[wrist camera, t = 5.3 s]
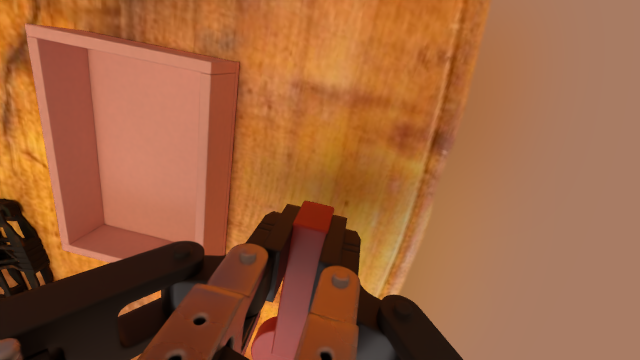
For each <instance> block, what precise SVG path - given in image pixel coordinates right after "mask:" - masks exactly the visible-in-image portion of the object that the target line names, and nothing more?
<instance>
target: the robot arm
mask: <svg viewBox="0 0 640 360" xmlns="http://www.w3.org/2000/svg"><path fill="white" fill-rule="evenodd" d="M300 208H301V207H299V206H295V205H291V204H287V205H286V207H285V208H284V210H283V211H282V213H278V212H274V211H273V212H271V213H269V214H267V215H265V217H264V218H263V219H262V221H261V223H260V224H259V225H258V226H257V228H256V229H255V231H254V232H253V233H252V235H251V236H250V238H249V239H248V240H247V242H246V243H245V244H240V245H237V246H235V247H233V248H232V249H231V250H230V251H229V252H228V254H227V255H222V256H216V255H205V250H204V248H203V246H202V245H200V244H199V243H197V242H193V241H177V242H173V243H170V244H167V245H164V246H161V247H158V248H155V249H152V250H149V251H146V252H143V253H140V254H137V255H134V256H131V257H128V258H125V259H122V260H119V261H116V262H112V263H109V264H106V265H103V266H100V267H97V268H94V269H91V270H88V271H85V272H82V273H79V274H76V275H73V276H70V277H67V278H64V279H61V280H58V281H55V282H51V283H48V284H45V285H42V286H39V287H36V288H33V289H30V290H27V291H24V292H21V293H18V294H15V295H12V296H9V297H6V298H3V299H0V360H131V359H132V358H134V357H136V356H138V355H140V354H141V353H142V354H141V355H140V357H139V358H138V359H137V360H249V359H248V358H246V357H244V354H245V352H246V349H247V347H248V344H249V342H250V339H251V337H252V334H253V332H254V329H255V327H256V325H257V322H258V320H259V317H260V312H261V309H262V307H263V305H264V303H265V301H269V302H273V301H274V298H275V296H276V294H277V291H278V289H279V287H280V284H281V282H282V279H283V277H284V275H285V272H286V267H287V261H288V255H289V249H290V243H291V237H292V231H293V225H292V224H293V222H294V220H295V218H296V216H297V214H298V212H299V210H300ZM346 223H347V218H345V217H341V216H337V215H333V217H332V220H331V224H330V228H329V231H328V234H326V236H325V240H324V243H323V247H322V251H321V254H320V258H319V261H318V266H317V271H316V275H315V280H314V284H313V289H312V294H311V298H310V303H309V308H308V315H307V318H306V321H305V324H304V328H303V331H302V334H301V338H300V341H299V344H298V347H297V351H296V354H295V357H294V360H463V359H462V357H461V356H460V355H459V354H458V353H457V352H456V350H455V349H454V348H453V347H452V346H451V345H450V343H449V342H448V341H447V340H446V339H445V338H444V336H443V335H442V334H441V333H440V331H439V330H438V329H437V328H436V327H435V326H434V325H433V323H432V322H431V321H430V320H429V318H428V317H427V316H426V315H425V314H424V313H423V311H422V310H421V309H420V308H419V307H418V306H417V305H416V304H415V303H414V302H413V301H411V300H409V299H408V298H405V297H403V296H400V295H388V296H386V297H384V298H383V299H382V300H380V299H378V298H376V297H374V296H373V295H371V294H369V293H368V292H367V291H366V290H365V289H364V288H363V287H362V286H361V284H360V279H359V277H358V271H359V257H360V243H361V239H360V237H359V235H358V233H357V232H356V231H352V230H348V229H346ZM160 290H161V298H159V299H157V300H155V301H152V302H150V303H148V304H146V305H143V306H141V307H139V308H137V309H135V310H132V311H130V312H128V313H126V314H123V315H121V316H119V317H118V314H119V312H120V311H121V310H122V309H123V308H124V307H125V306H126V305H128V304H129V303H132V302H134V301H136V300H139V299H141V298H143V297H146V296H148V295H150V294H153V293H155V292H157V291H160Z"/></svg>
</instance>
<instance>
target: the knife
mask: <svg viewBox="0 0 640 360" xmlns="http://www.w3.org/2000/svg"><path fill="white" fill-rule="evenodd" d="M20 213H21V212H20V210H19V208H18V205H17V204H15V203H14V202H13V201H6V199H0V227H3V229H4V231H5V233H6V235H7V237H8V238H2V237H1V235H0V287H1V288H2V289H3V290H4V292H5V293H4V294H0V299H3V298H6V297H9V296H12V295H15V294H18V293H21V292H24V291H27V288H26V286H25V284H24V282H23V280H22V278H21V276H20V274H19V272H18V270H20V271H22V272H24V273H25V275H26V277H27V279H28V281H29V284H30V286H31V288H32V289H33V288H36V287H39V286H40V283H39V280H38V278H37V276H36V274H35V273H37V272H39V271H40V273H41V275H42V277H43V279H44V281H45V284H48V283H51V282H52V275H51V272H50V270H49V268H48V263H50V261H49V260H47V258H48V257H47V255H45V250H44V249H42V247H43V245H42V244H40V242H41V241H40V239H38V237H37V235H36V233H35V230H34V229H33V228H32V227H30V225H29V224H28V223H27V221H26V220H25V219H24V218H23V217H22V216H21V214H20ZM7 221H17V222H18V224H19V226H20V229H21V231H22V233H23V235H24V237H25V238H21V236H20V235H18V234H17V233H16V231H15V230H14V229H13V227H12V226H11V225H10V224H9V223H7ZM4 242H10V244H11V245H7V244H6V243H4ZM12 250H14V252H13V251H12ZM11 257H13V258H11ZM18 261H19V262H18ZM2 269H7V270H8V272H9V274H10V276H11V277H12V278H13V279H14V280H15V281H16V282H17V283H18V284H19V285H17V286H15V287H13V288H9V286H8V284H7V282H6V280H5V278H4V276H3V274H2V272H1V270H2Z"/></svg>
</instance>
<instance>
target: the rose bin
mask: <svg viewBox="0 0 640 360" xmlns="http://www.w3.org/2000/svg"><path fill="white" fill-rule="evenodd" d="M25 28H26V34H27V41H28V47H29V53H30V59H31V65H32V71H33V77H34V83H35V89H36V95H37V101H38V106H39V112H40V118H41V124H42V130H43V136H44V142H45V148H46V154H47V160H48V166H49V172H50V178H51V184H52V190H53V196H54V202H55V208H56V214H57V220H58V226H59V232H60V238H61V243H62V249H63V250H65V251H68V252H72V253H76V254H80V255H83V256H87V257H91V258H95V259H98V260H102V261H106V262H110V263H112V262H116V261H119V260H122V259H125V258H128V257H131V256H134V255H137V254H140V253H143V252H146V251H149V250H152V249H155V248H158V247H161V246H164V245H167V244H170V243H173V242H177V241H193V242H197V243H199V244H200V245H202V246H203V248H204V250H205V255H216V256H222V255H225V244H226V231H227V218H228V205H229V192H230V179H231V166H232V154H233V141H234V128H235V115H236V102H237V89H238V76H239V62H234V61H229V60H224V59H219V58H214V57H210V56H205V55H200V54H195V53H190V52H185V51H180V50H175V49H171V48H166V47H161V46H156V45H151V44H146V43H141V42H136V41H132V40H127V39H122V38H117V37H112V36H107V35H102V34H97V33H93V32H88V31H82V30H74V29H66V28H58V27H50V26H42V25H34V24H25Z"/></svg>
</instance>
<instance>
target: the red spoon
mask: <svg viewBox="0 0 640 360" xmlns="http://www.w3.org/2000/svg"><path fill="white" fill-rule="evenodd" d="M333 214H334V207H331V206H327V205H323V204H318V203H314V202H310V201H304V202H303V204H302V206H301V208H300V210H299V212H298V214H297V216H296V218H295V220H294V222H293V224H292V225H293V231H292V237H291V243H290V249H289V255H288V261H287V267H286V272H285V275H284V278H283V284H282V290H281V296H280V302H279V308H278V314H277V316H276V317H272V318H270V319H268V320H266V321H265V322H264V323H263V324H262V325H261V326H260V327H259V329H258V332H257V334H256V336H255V339H254V341H253V343H252V347H251V354H252V358H253V360H294V357H295V354H296V351H297V347H298V344H299V341H300V338H301V334H302V331H303V328H304V324H305V321H306V318H307V315H308V308H309V303H310V298H311V294H312V289H313V284H314V280H315V275H316V271H317V266H318V261H319V258H320V254H321V251H322V247H323V243H324V240H325V236H326V234H328V231H329V228H330V224H331V220H332V217H333Z"/></svg>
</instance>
